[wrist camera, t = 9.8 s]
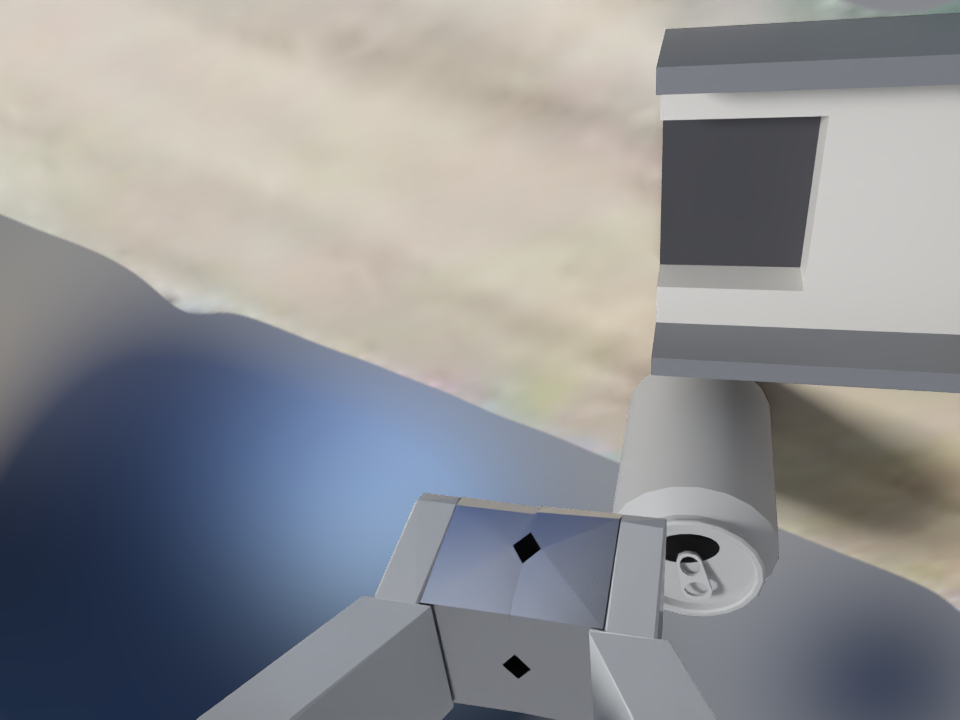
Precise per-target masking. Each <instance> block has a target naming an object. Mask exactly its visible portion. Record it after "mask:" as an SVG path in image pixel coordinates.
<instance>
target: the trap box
mask: <svg viewBox="0 0 960 720" xmlns="http://www.w3.org/2000/svg"><path fill="white" fill-rule="evenodd" d="M656 95H661V113H660V120H663V156H662V200H661V244H660V268H659V275H658V283H657V307H656V328H655V335H654V343H653V350H652V359H651V375H656V376H673V377H691V378H708V379H725V380H742V381H760V382H777V383H794V384H811V385H828V386H846V387H863V388H880V389H897V390H914V391H932V392H949V393H960V13H950V14H932V15H914V16H896V17H878V18H860V19H842V20H825V21H807V22H789V23H771V24H753V25H735V26H717V27H699V28H681V29H666V31H665V35H664V39H663V43H662V47H661V51H660V55H659V59H658V63H657V67H656Z"/></svg>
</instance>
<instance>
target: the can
mask: <svg viewBox="0 0 960 720" xmlns="http://www.w3.org/2000/svg"><path fill="white" fill-rule="evenodd" d="M613 513H615V514H622V516H623V515H633V516H643V517H653V518H663V519H666V520H667V536H666V560H665V584H664V608H663V609H665V610H668V611H672V612H676V613H680V614H684V615H695V616H712V615H719V614H726V613H729V612H731V611H734V610H737V609H739V608H742V607H744V606H746V605H747V604H748V603H750V602H751V601H752V600H753V599H755V598H756V597H757V596H758V595H759V593H760V591H761V589H762V587H763V585H764V583H765V579H766V578H767V577H768V576H769V575H770V574H771V573H772V571H773V569H774V567H775V565H776V563H777V561H778V559H779V543H778V526H777V511H776V495H775V480H774V465H773V450H772V435H771V419H770V405H769V403H768V401H767V399H766V397H765V395H764V392H763V390H762V388H760V387H759V386H758V385H757V384H756V383H755V382H754V381H742V380H725V379H708V378H691V377H673V376H656V375H651V374H649V375H648V376H646V377H644V378H643V380H642V381H641V382H640V384H639V385H638V386H637V388H636V389H635V390H634V392H633V394H632V398H631V402H630V406H629V411H628V417H627V423H626V430H625V436H624V443H623V449H622V455H621V462H620V468H619V475H618V481H617V488H616V494H615V500H614V507H613Z"/></svg>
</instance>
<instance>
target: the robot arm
mask: <svg viewBox="0 0 960 720" xmlns="http://www.w3.org/2000/svg"><path fill="white" fill-rule="evenodd" d="M666 536H667V520H666V519H663V518H653V517H643V516H633V515H623V516H622V514H615V513H604V512H593V511H584V510H573V509H563V508H552V507H542V506H541V507H533V506H526V505H518V504H511V503H503V502H496V501H488V500H481V499H473V498H465V497H462V498H461V497H454V496H445V495H437V494H430V493H423V494H422V496H421V497H420V498H419V499H418V500H417V501H416V502H415V504H414V507H413V509H412V511H411V513H410V516H409V518H408V520H407V522H406V525H405V527H404V529H403V532H402V534H401V537H400V539H399V541H398V543H397V545H396V548H395V550H394V552H393V555H392V557H391V559H390V562H389V564H388V566H387V568H386V571H385V573H384V575H383V578H382V580H381V582H380V585H379V587H378V589H377V591H376V594H375V596H374V597H365V596H362V597H361V598H359V599H358V600H357V601H355V602H354V603H353V604H352V605H350V606H349V607H347V608H346V609H344V610H343V611H342V612H340V613H339V614H338V615H337V616H335V617H334V618H332V619H331V620H330V621H328V622H327V623H326V624H324V625H323V626H322V627H321V628H319V629H318V630H316V631H315V632H314V633H312V634H311V635H310V636H308V637H307V638H305V639H304V640H303V641H301V642H300V643H299V644H298V645H296V646H295V647H293V648H292V649H291V650H289V651H288V652H287V653H285V654H284V655H283V656H281V657H280V658H279V659H277V660H276V661H275V662H273V663H272V664H271V665H269V666H268V667H266V668H265V669H264V670H263V671H261V672H260V673H259V674H257V675H256V676H254V677H253V678H252V679H250V680H249V681H248V682H246V683H245V684H244V685H242V686H241V687H240V688H238V689H237V690H236V691H234V692H233V693H232V694H230V695H229V696H228V697H226V698H225V699H224V700H222V701H221V702H220V703H218V704H217V705H216V706H214V707H213V708H211V709H210V710H209V711H207V712H206V713H205V714H203V715H202V716H201V717H199V718H198V719H197V720H442V719H443V718H444V717H445V716H446V714H447V713H448V712H449V711H450V710H451V709H452V708H453V702H455V703H462V704H469V705H475V706H482V707H489V708H495V709H502V710H509V711H515V712H522V713H527V714H532V715H536V716H542V717H547V718H551V719H556V720H717V718H716V716H715V715H714V713H713V711H712V709H711V708H710V706H709V704H708V703H707V701H706V699H705V698H704V696H703V694H702V693H701V691H700V689H699V688H698V686H697V684H696V683H695V681H694V679H693V678H692V676H691V674H690V673H689V671H688V669H687V668H686V666H685V664H684V662H683V661H682V659H681V658H680V656H679V654H678V652H677V651H676V649H675V647H674V646H673V644H672V642H671V641H666V640H662V630H663V608H664V584H665V560H666Z"/></svg>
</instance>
